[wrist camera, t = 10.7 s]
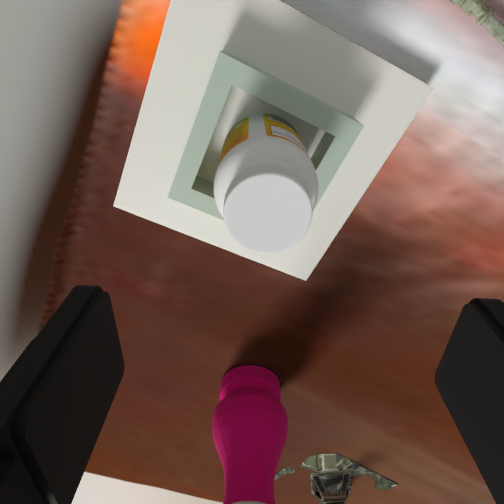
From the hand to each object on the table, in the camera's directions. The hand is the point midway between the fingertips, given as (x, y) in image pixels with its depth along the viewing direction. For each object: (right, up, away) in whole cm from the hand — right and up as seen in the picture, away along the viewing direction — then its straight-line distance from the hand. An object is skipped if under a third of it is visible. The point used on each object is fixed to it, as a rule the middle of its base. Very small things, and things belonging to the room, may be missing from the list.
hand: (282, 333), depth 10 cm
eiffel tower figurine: (+10, -28, +39) cm, 49 cm away
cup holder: (0, +10, +15) cm, 18 cm away
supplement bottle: (0, +9, +15) cm, 17 cm away
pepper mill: (-1, -12, +28) cm, 31 cm away
